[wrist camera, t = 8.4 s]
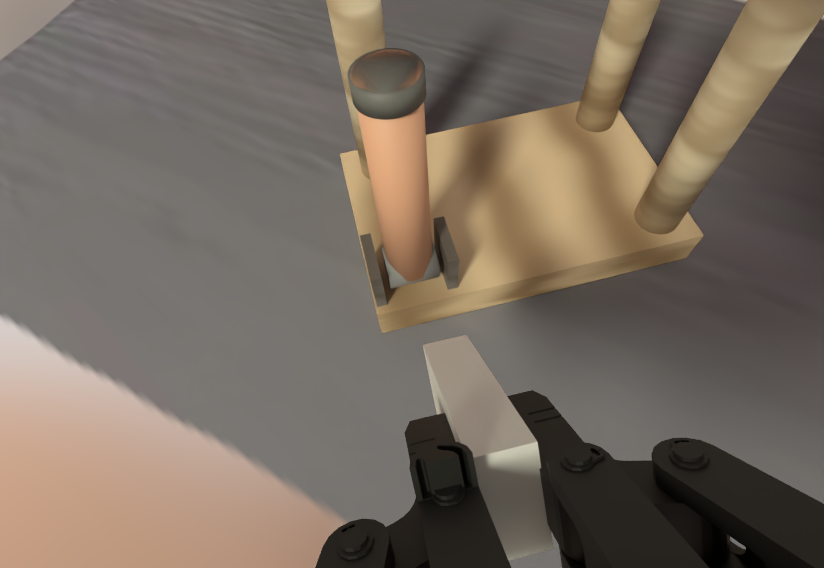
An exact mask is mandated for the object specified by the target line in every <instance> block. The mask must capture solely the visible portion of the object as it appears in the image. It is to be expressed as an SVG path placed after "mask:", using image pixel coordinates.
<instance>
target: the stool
mask: <svg viewBox="0 0 824 568" xmlns="http://www.w3.org/2000/svg"><path fill="white" fill-rule="evenodd" d="M660 1H661V0H610V2H609V5H608V8H607V12H606V15H605V19H604V22H603V25H602V29H601V32H600V36H599V39H598V42H597V46H596V49H595V53H594V56H593V59H592V63H591V66H590V70H589V73H588V76H587V80H586V83H585V87H584V90H583V94H582V97H581V100H580V101H579V102H574V103H570V104H565V105H561V106H556V107H552V108H547V109H542V110H538V111H533V112H529V113H524V114H520V115H515V116H511V117H506V118H501V119H497V120H492V121H488V122H483V123H479V124H474V125H469V126H465V127H460V128H456V129H451V130H447V131H442V132H437V133H433V134H428V135H426V146H427V163H428V181H429V199H430V216H431V234H432V241H433V244H434V248H435V251H436V255H437V259H438V265H439V272H440V276H439V277H437V278H433V279H429V280H425V281H421V282H417V283H412V284H408V285H404V286H400V287H396V288H392V289H391V287H390V284H389V280H388V276H387V272H386V268H385V264H384V260H383V255H382V250H381V247H384V246H383V241H382V236H381V231H380V225H379V220H378V215H377V210H376V205H375V200H374V195H373V190H372V185H371V179H370V174H369V169H368V164H367V159H366V154H365V149H364V144H363V138H362V133H361V128H360V123H359V118H358V113H357V109H356V108H355V106H354V104H353V101H352V96H351V91H350V86H349V81H348V70H349V67H350V66H351V64H352V63H353V62H354V61H355V60H356V59H357V58H359V57H360V56H362V55H364V54H366V53H368V52H371V51H374V50H378V49H384V48H386V41H385V32H384V23H383V14H382V5H381V0H326V2H327V6H328V11H329V16H330V21H331V26H332V30H333V35H334V40H335V45H336V49H337V54H338V59H339V64H340V69H341V73H342V78H343V83H344V88H345V92H346V97H347V102H348V107H349V112H350V116H351V121H352V126H353V131H354V135H355V140H356V145H357V150H355V151H351V152H346V153H342V154H340V157H341V161H342V165H343V170H344V174H345V178H346V183H347V187H348V191H349V196H350V200H351V204H352V208H353V213H354V217H355V221H356V226H357V230H358V234H359V239H360V243H361V247H362V251H363V256H364V260H365V264H366V269H367V273H368V277H369V282H370V286H371V290H372V295H373V299H374V303H375V307H376V312H377V316H378V320H379V323H380V327H381V331H382V333H385V332H389V331H393V330H397V329H401V328H405V327H409V326H413V325H417V324H421V323H425V322H429V321H433V320H437V319H441V318H445V317H449V316H453V315H458V314H462V313H466V312H470V311H474V310H478V309H482V308H486V307H490V306H494V305H498V304H502V303H506V302H510V301H514V300H518V299H522V298H526V297H531V296H535V295H539V294H543V293H547V292H551V291H555V290H559V289H563V288H567V287H571V286H575V285H579V284H583V283H587V282H591V281H595V280H599V279H604V278H608V277H612V276H616V275H620V274H624V273H628V272H632V271H636V270H640V269H644V268H648V267H652V266H656V265H660V264H664V263H668V262H672V261H676V260H681V259H685V258H686V257H687V256H688V255H689V254H690V252H691V251H692V250H693V249H694V247H695V246H696V245H697V244H698V242H699V241H700V240H701V238H702V237H703V236H704V235H703V234H702V232H701V231H700V229H699V228H698V226H697V225H696V223H695V222H694V220H693V219H692V217H691V216H690V214H689V213H688V210H689V209H690V208H691V206H692V205H693V203H694V202H695V200H696V199H697V197H698V196H699V194H700V193H701V192H702V190H703V189H704V187H705V186H706V184H707V183H708V181H709V180H710V179H711V177H712V176H713V174H714V173H715V171H716V170H717V168H718V167H719V165H720V164H721V163H722V161H723V160H724V158H725V157H726V155H727V154H728V152H729V151H730V150H731V148H732V147H733V145H734V144H735V142H736V141H737V139H738V138H739V136H740V135H741V134H742V132H743V131H744V129H745V128H746V126H747V125H748V123H749V122H750V121H751V119H752V118H753V116H754V115H755V113H756V112H757V110H758V109H759V108H760V106H761V105H762V103H763V102H764V100H765V99H766V97H767V96H768V94H769V93H770V92H771V90H772V89H773V87H774V86H775V84H776V83H777V81H778V80H779V79H780V77H781V76H782V74H783V73H784V71H785V70H786V68H787V67H788V65H789V64H790V63H791V61H792V60H793V58H794V57H795V55H796V54H797V52H798V51H799V50H800V48H801V47H802V45H803V44H804V42H805V41H806V39H807V38H808V36H809V35H810V34H811V32H812V31H813V29H814V28H815V26H816V25H817V23H818V22H819V21H820V19H821V18H822V16H823V15H824V0H748V1H747V3H746V4H745V6H744V8H743V10H742V12H741V14H740V16H739V17H738V19H737V21H736V23H735V25H734V27H733V29H732V30H731V32H730V34H729V36H728V38H727V40H726V42H725V43H724V45H723V47H722V49H721V51H720V53H719V55H718V56H717V58H716V60H715V62H714V64H713V66H712V68H711V69H710V71H709V73H708V75H707V77H706V79H705V81H704V83H703V84H702V86H701V88H700V90H699V92H698V94H697V96H696V97H695V99H694V101H693V103H692V105H691V107H690V109H689V110H688V112H687V114H686V116H685V118H684V120H683V122H682V123H681V125H680V127H679V129H678V131H677V133H676V135H675V136H674V138H673V140H672V142H671V144H670V146H669V148H668V149H667V151H666V153H665V155H664V157H663V159H662V161H661V162H660V164H659V166H658V167H657V165H656V164H655V162H654V161H653V159H652V158H651V156H650V155H649V153H648V152H647V150H646V149H645V148H644V146H643V145H642V143H641V142H640V140H639V139H638V137H637V136H636V134H635V133H634V131H633V130H632V128H631V127H630V125H629V124H628V122H627V121H626V119H625V118H624V116H623V115H622V113H621V112H620V110H619V108H620V105H621V102H622V100H623V97H624V95H625V92H626V89H627V87H628V84H629V81H630V79H631V76H632V74H633V71H634V68H635V66H636V63H637V61H638V58H639V55H640V53H641V50H642V48H643V45H644V42H645V40H646V37H647V35H648V32H649V29H650V27H651V24H652V22H653V19H654V16H655V14H656V11H657V8H658V6H659V3H660Z"/></svg>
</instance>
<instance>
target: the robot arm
mask: <svg viewBox="0 0 824 568" xmlns="http://www.w3.org/2000/svg"><path fill="white" fill-rule="evenodd" d="M423 348H424V353H425V358H426V363H427V368H428V373H429V378H430V382H431V387H432V392H433V397H434V402H435V407H436V412H437V415H434V416H429V417H425V418H421V419H417V420H413V421H410V422H409V425H408V427H407V429H406V431H405V437H406V442H407V447H408V452H409V458H410V472H411V476H412V481H413V485H414V490H415V494H416V499H415V502H414V505H413V506H412V508H411V509H410V511H409V512H408V513H407V514H406V515H405V516H404V517H402V518H401V519H399V520H398V521H396V522H395V523H393V524H391V525H389V526H387V527H385V526H384V524H382V523H380V522H378V521H376V520H372V519H360V520H355V521H351V522H349V523H347V524H345V525H343V526H341V527H339V528H338V529H337V530H336V531H334V532H333V534H331V535H330V536H329V537H328V539H327V541H326V543H325V544H324V546H323V548H322V551H321V554H320V556H319V559H318V562H317V565H316V567H315V568H511V566H510V564H509V560H513V559H517V558H520V557H524V556H528V555H532V554H535V553H539V552H543V551H547V550H551V549H553V543H552V537H551V531H552V533H553V535H554V537H555V539H556V540H557V542H558V544H559V549H560V556H561V563H562V568H824V504H823V503H821V502H819V501H817V500H815V499H813V498H812V497H810V496H808V495H806V494H804V493H802V492H800V491H798V490H796V489H795V488H793V487H791V486H789V485H787V484H785V483H783V482H781V481H779V480H778V479H776V478H774V477H772V476H770V475H768V474H766V473H764V472H762V471H761V470H759V469H757V468H755V467H753V466H751V465H749V464H747V463H745V462H744V461H742V460H740V459H738V458H736V457H734V456H732V455H730V454H728V453H727V452H725V451H723V450H721V449H719V448H717V447H715V446H713V445H711V444H708V443H706V442H703V441H701V440H696V439H690V438H672V439H668V440H665V441H661V442H660V443H659V444H657V445H656V446H655V447H654V449H653V452H652V461H619V460H614V459H613V458H612V457H611V455H610V454H609V453H608V452H606V451H605V450H604V449H602V448H601V447H599V446H596V445H593V444H590V443H584V442H583V441H582V439H581V438H580V437H579V436H578V435H577V433H576V432H575V431H574V430H573V429H572V427H571V426H570V425H569V424H568V423H567V421H566V420H565V419H564V418H563V417H562V416H561V414H560V413H559V412H558V411H557V409H555V407H554V406H553V405H552V403H551V402H550V401H549V400H548V399H547V397H545V396H543V395H541V394H539V393H537V392H535V391H527V392H523V393H519V394H515V395H511V396H507V395H506V394H505V392H504V391H503V389H502V388H501V386H500V385H499V383H498V382H497V380H496V379H495V377H494V376H493V374H492V373H491V371H490V370H489V368H488V367H487V365H486V364H485V362H484V361H483V359H482V358H481V356H480V355H479V353H478V352H477V350H476V349H475V347H474V346H473V344H472V343H471V341H470V340H469V338H468V337H467V335H464V336H459V337H455V338H451V339H446V340H442V341H438V342H433V343H429V344H425V345H423ZM550 529H551V530H550ZM730 536H731V537H732V538H733V539H735V540H736V541H738V542H739V543H741V544H742V545H744V546H745V547H746V550H745V549H742V548H740V547H738V546H737V545H735V544H734V543H733V542H731V541H730Z"/></svg>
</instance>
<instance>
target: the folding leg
mask: <svg viewBox="0 0 824 568" xmlns="http://www.w3.org/2000/svg"><path fill="white" fill-rule="evenodd" d="M348 81H349V86H350V91H351V96H352V101H353V104H354V106H355V108H356V109H357V113H358V118H359V123H360V128H361V133H362V138H363V144H364V149H365V154H366V159H367V164H368V169H369V174H370V179H371V185H372V190H373V195H374V200H375V205H376V210H377V215H378V220H379V225H380V231H381V236H382V241H383V246H384V247H381V250H382V255H383V260H384V264H385V268H386V272H387V276H388V280H389V284H390V287H391V289H392V288H396V287H400V286H404V285H408V284H412V283H417V282H421V281H425V280H429V279H433V278H437V277H439V276H440V272H439V265H438V259H437V255H436V251H435V248H434V244H433V241H432V234H431V216H430V199H429V181H428V163H427V146H426V128H425V110H424V100H425V97H426V80H425V65H424V63H423V61H422V59H421V58H420V57H419V56H418V55H416V54H414V53H412V52H410V51H407V50H404V49H398V48H384V49H378V50H374V51H371V52H368V53H366V54H364V55H362V56H360V57H359V58H357V59H356V60H355V61H354V62H353V63H352V64H351V66H350V67H349V70H348Z"/></svg>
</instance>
